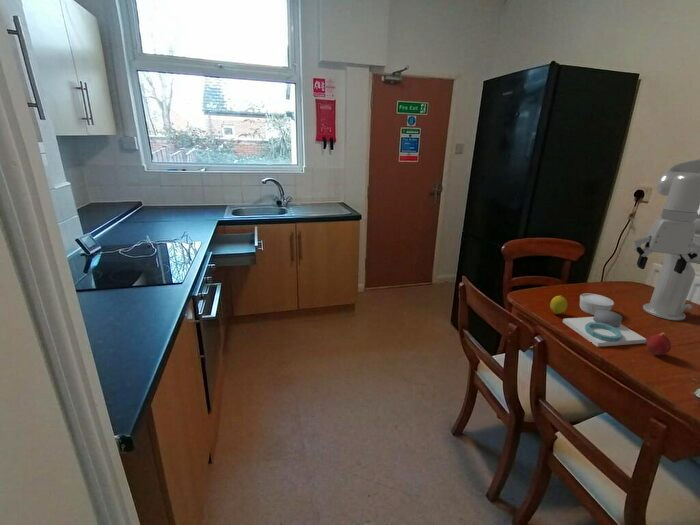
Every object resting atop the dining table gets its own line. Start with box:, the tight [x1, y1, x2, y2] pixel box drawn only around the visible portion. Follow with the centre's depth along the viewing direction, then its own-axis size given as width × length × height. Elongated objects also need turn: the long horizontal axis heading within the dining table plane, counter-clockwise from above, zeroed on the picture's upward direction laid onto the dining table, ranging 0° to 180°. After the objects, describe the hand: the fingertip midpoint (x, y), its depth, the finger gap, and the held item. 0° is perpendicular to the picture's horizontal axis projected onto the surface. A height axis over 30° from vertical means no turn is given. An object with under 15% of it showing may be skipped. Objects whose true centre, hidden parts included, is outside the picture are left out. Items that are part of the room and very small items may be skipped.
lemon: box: [549, 295, 568, 315], centre depth 131 cm, size 6×6×8 cm
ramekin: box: [579, 292, 615, 316], centre depth 135 cm, size 11×11×5 cm
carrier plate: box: [562, 309, 648, 348], centre depth 120 cm, size 18×16×4 cm
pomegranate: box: [645, 332, 672, 356], centre depth 107 cm, size 6×6×8 cm
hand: (658, 270), depth 107 cm, fingers open, 9 cm apart
